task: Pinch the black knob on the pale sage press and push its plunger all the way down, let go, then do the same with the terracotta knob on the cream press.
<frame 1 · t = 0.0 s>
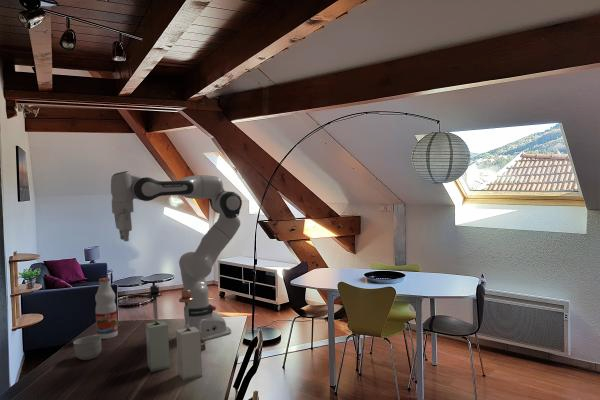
hand: (124, 240, 215), 48 cm above the table, tool pointing down, fingers open, 8 cm apart
terracotta plunger: (187, 314, 182), point 23 cm above the table, slide at 0.0 cm
cream press: (190, 375, 182), on the table
architectural model: (198, 351, 210), on the table
teacup: (90, 356, 209), on the table
fruit juice: (107, 336, 236), on the table
sage press: (158, 367, 193), on the table
black plunger: (155, 309, 192), point 23 cm above the table, slide at 0.0 cm
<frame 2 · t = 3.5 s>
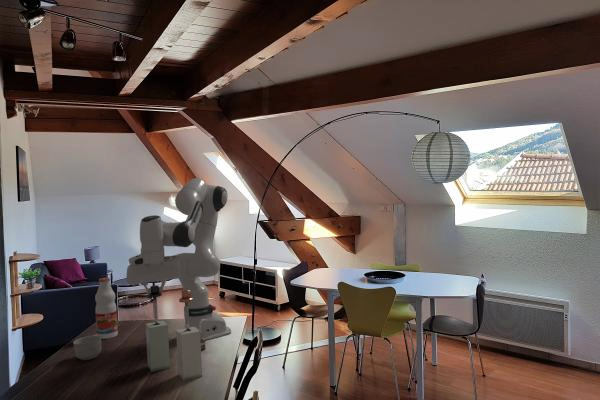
hand: (154, 292, 192), 29 cm above the table, tool pointing down, fingers closed on black plunger, 3 cm apart
black plunger: (155, 309, 192), point 23 cm above the table, slide at 0.0 cm, touching gripper
everything else where it was.
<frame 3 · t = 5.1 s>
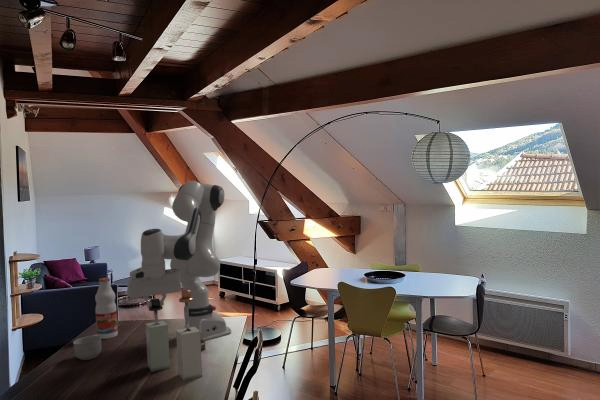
hand: (155, 306, 192), 24 cm above the table, tool pointing down, fingers closed on black plunger, 3 cm apart
black plunger: (156, 322, 192), point 18 cm above the table, slide at 5.3 cm, touching gripper
everything else where it was.
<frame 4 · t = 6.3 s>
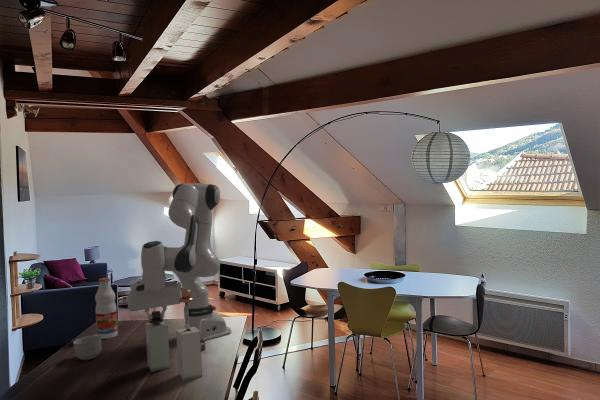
hand: (156, 318, 192), 19 cm above the table, tool pointing down, fingers closed on black plunger, 3 cm apart
black plunger: (157, 335, 192), point 13 cm above the table, slide at 10.1 cm, touching gripper
everything else where it was.
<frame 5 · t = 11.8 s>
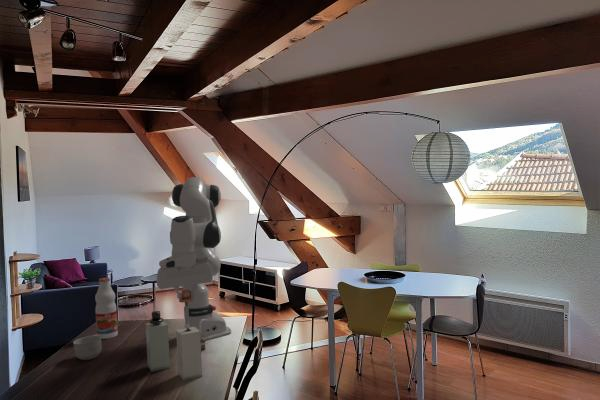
hand: (186, 297, 181), 29 cm above the table, tool pointing down, fingers closed on terracotta plunger, 3 cm apart
terracotta plunger: (187, 314, 182), point 23 cm above the table, slide at 0.0 cm, touching gripper
black plunger: (157, 335, 192), point 13 cm above the table, slide at 10.2 cm
everything else where it was.
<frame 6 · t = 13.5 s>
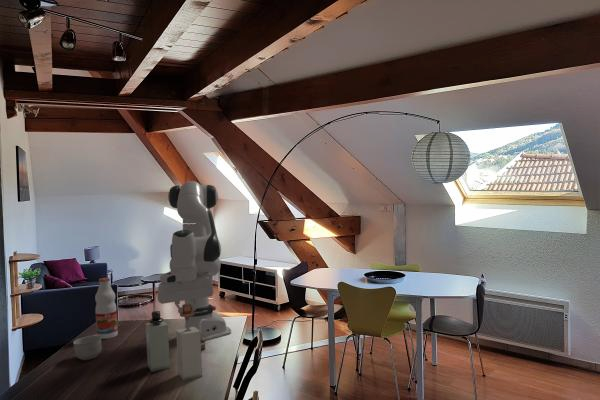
hand: (186, 311, 182), 24 cm above the table, tool pointing down, fingers closed on terracotta plunger, 3 cm apart
terracotta plunger: (187, 329, 182), point 18 cm above the table, slide at 5.4 cm, touching gripper
everything else where it was.
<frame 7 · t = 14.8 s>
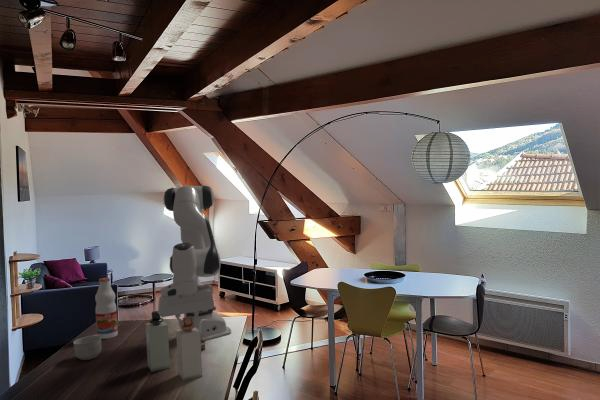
hand: (187, 324, 182), 19 cm above the table, tool pointing down, fingers closed on terracotta plunger, 3 cm apart
terracotta plunger: (188, 342, 182), point 13 cm above the table, slide at 10.2 cm, touching gripper
everything else where it was.
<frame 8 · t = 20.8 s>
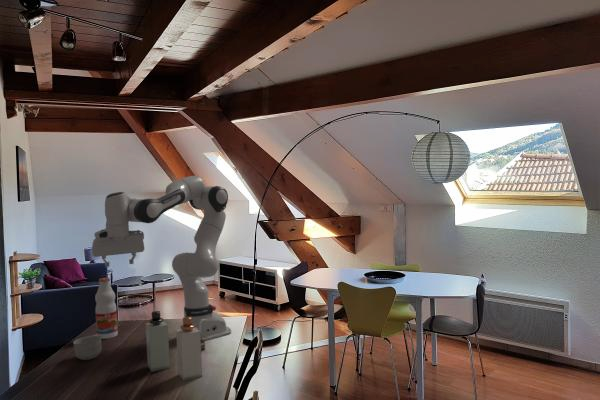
hand: (119, 265, 202), 39 cm above the table, tool pointing down, fingers open, 8 cm apart
terracotta plunger: (188, 342, 182), point 13 cm above the table, slide at 10.2 cm
everything else where it was.
at the end: black plunger slide at 10.2 cm; terracotta plunger slide at 10.2 cm; the gripper is holding nothing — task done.
